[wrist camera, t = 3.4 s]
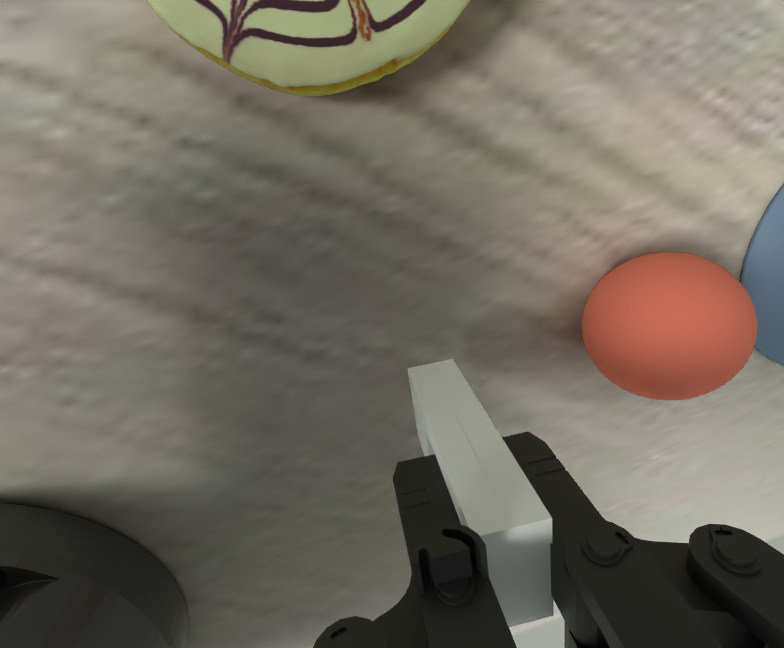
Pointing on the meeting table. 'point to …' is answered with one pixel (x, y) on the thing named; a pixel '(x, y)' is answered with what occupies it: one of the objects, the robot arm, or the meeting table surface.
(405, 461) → the robot arm
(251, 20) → the decorated donut
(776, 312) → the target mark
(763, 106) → the meeting table surface
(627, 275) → the ball
